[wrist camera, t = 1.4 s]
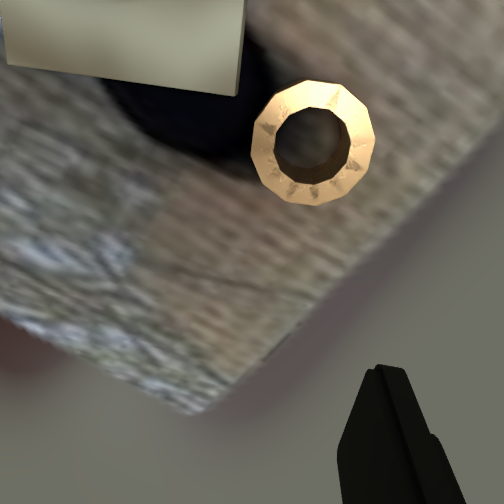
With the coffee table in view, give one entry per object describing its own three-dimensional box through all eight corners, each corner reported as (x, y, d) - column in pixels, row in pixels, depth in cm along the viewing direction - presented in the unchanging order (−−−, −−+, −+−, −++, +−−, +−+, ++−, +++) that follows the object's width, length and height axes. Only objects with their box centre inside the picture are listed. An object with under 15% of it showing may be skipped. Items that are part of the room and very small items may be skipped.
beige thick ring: (263, 71, 25) (260, 73, 21) (372, 87, 25) (388, 91, 21) (250, 178, 28) (245, 196, 24) (346, 192, 28) (356, 211, 24)
